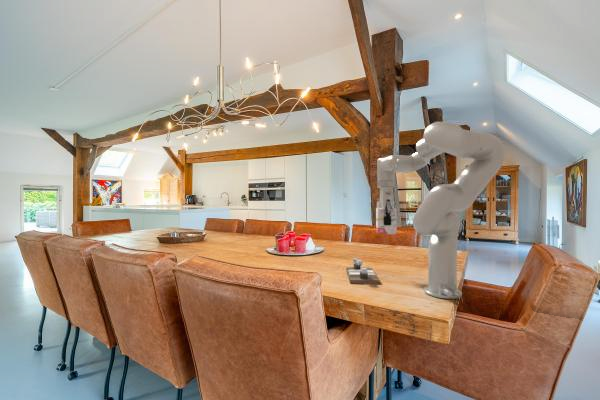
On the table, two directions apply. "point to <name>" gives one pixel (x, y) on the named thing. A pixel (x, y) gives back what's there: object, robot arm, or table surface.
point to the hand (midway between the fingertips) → (386, 224)
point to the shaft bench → (362, 281)
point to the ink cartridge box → (380, 221)
